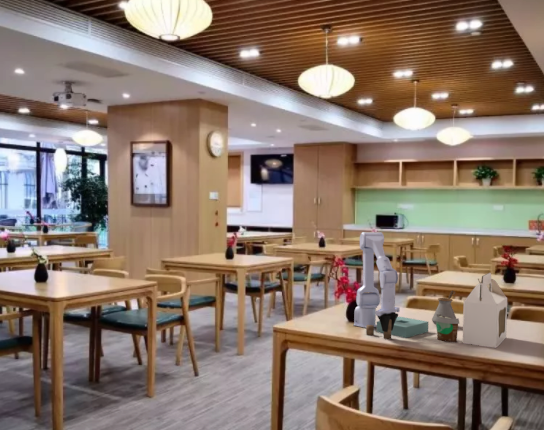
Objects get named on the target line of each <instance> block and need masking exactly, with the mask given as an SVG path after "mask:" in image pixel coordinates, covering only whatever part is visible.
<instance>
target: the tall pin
mask: <svg viewBox="0 0 544 430" xmlns="http://www.w3.org/2000/svg"><path fill="white" fill-rule="evenodd" d="M391 325H392V320H391V319H390V320H389V324H388V331H387V332H384V333H383V339H384V340H392V335H391Z"/></svg>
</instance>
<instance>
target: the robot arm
mask: <svg viewBox="0 0 544 430" xmlns="http://www.w3.org/2000/svg"><path fill="white" fill-rule="evenodd" d="M384 243H385V235H384V233H383V232H381V231H379V232H377V231H376V232H375V231H374V232H370V231H369V232H365V231H362V232H361V233H360V235H359V250H361V251H362V273H363V274H362V286H360V287H359V288H358V289H357V291H356V296H355V299H356V301H355V302H356V305H357V306H356V307H355V309H354V313H353V314H354V318H353V319H354V320H353V321H354V322H353V323H354V324H353V326H355V327H360V328H361V327H362V328H366V325H374V328H377V323H376V322H377V321H376V318H378V321H380V323H381V327H382V331H384V332H387V331H388V324H389V320H390V319H391V320H392V325H391V331H392V330H393V327H394V323H395V321H396V319H397V317H399V313H400V310H401V309H400V307H398V306H396V285H397V284H398V280H399V275H398V271H397V270H396V269H395V268H393V266H392V264H391V261H390V258H389V257H387V256H386V254H385V253H386V252H385V251H384ZM374 257H376V262H375V261H374V259H375V258H374ZM374 262H375V263H376V266H377V269H378V271H379V275H378V276H379V278H378V279H379V284H380V288H381V290H379V289H378V288H377V287H375V283H374V282H375V281H374V279H375V278H374V277H375V273H374V272H375V271H374V270H375V269H374V268H375V267H374V266H375V263H374ZM379 291H381V294H380V292H379ZM380 295H381V297H380ZM379 305H380V308H379V309H378V310H377V309H376V308H378V307H379Z"/></svg>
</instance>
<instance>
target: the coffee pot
mask: <svg viewBox="0 0 544 430" xmlns="http://www.w3.org/2000/svg"><path fill="white" fill-rule="evenodd" d="M454 293H455V291H454V290H451V291H450V292H449V294H448V297H438V298H437V300H438V304H437V305H438V306H437V308H436V309H435V312H434V313H433V316H432V318H431V322H432V323H433V324H434V325H435V327H437V324H436V321H435V316H436V315H437V314H442V316H444V317H450V318H452V319H457V317H456V314H455V311H454V309H453V307H452V302H453V298H452V296H453V295H454Z"/></svg>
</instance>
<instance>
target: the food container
mask: <svg viewBox="0 0 544 430" xmlns="http://www.w3.org/2000/svg"><path fill="white" fill-rule="evenodd" d="M435 321H436V324H437V326H436V339H437V340H438V341H441V342H445V343H457V341H458V332H459V331H458V329H459V325H460V319H459V318H456V319H452V318H450V317H444V316H442V314H437V315H436V316H435Z"/></svg>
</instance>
